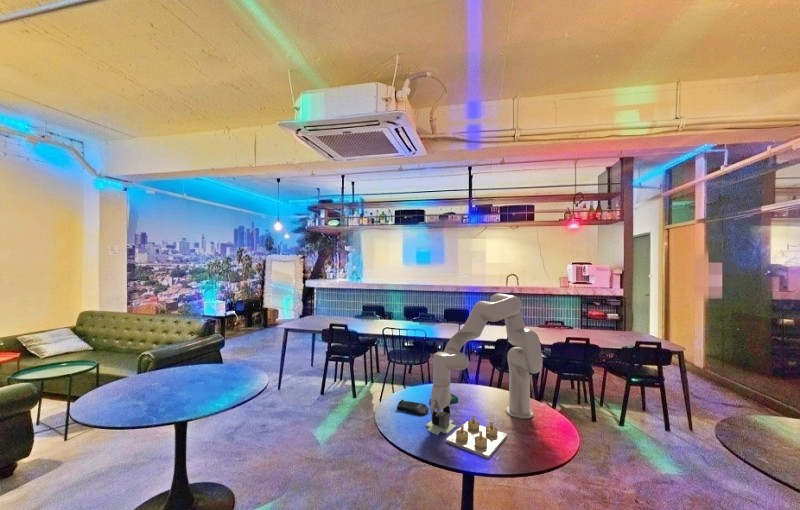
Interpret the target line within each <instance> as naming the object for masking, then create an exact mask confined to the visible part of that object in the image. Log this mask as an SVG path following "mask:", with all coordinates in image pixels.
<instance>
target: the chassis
mask: <svg viewBox="0 0 800 510" xmlns="http://www.w3.org/2000/svg"><path fill="white" fill-rule="evenodd" d="M507 438H508V434H507V433H505V432H502V431H499V430H498V427H496V426H494V420H492V419H491V420H490V421H489V425H486V426H483V425H481V424H480V421H478V420H476V414H472V418H471V419H469V420H468V421H466V422H465V423H463V424H460V427H458V428H457V429H456V430H455V431H454V432H453V433H452V434H450V435H449V436H448V437H447V438H446V439H445V443H446V442H447V444H450V445H451V444H452V445H451V446H454V447H457V448H459V447H460V449H461V450H465V451H468V452H470V453H473V454H475V455H478V456H481V457H483V458H486V459H490V458H491V457H492V456H493V454H494V453H495V452H496V451H497V450H498V449H499V447H500V446H501V445H502V444H501V443H503V442H505V440H507ZM495 450H496V451H495Z"/></svg>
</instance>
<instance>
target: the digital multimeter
mask: <svg viewBox="0 0 800 510" xmlns="http://www.w3.org/2000/svg"><path fill="white" fill-rule="evenodd" d="M450 395H451V396H452V398H451V404H453V403H452V402H454V403H457V402H456V401H458V402H459V397H458V396H456V395H455V394H453V393H450ZM429 403H430V404H431V398H429Z"/></svg>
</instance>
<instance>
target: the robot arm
mask: <svg viewBox="0 0 800 510" xmlns="http://www.w3.org/2000/svg"><path fill="white" fill-rule="evenodd" d="M522 307H523V303H522V300H521V298H520V297H518V296H515V295H512V294H506V293H495V294H492V295H491V296H490V301H488V300H487V301H485V300H479V301H477V302H476V303H475V304H474V305H473V308H472V309H471V311H470V313H469V315H468V317H467V319H466V321H465V323H464V325H463V327H461V328H460V329H459V330H458V331H457V332H455V334H454V335H452V336H451V338H450V339H449V340H448V341H447V344H446V345H445V348H444V350H443V351H437V352H435V353H434V354H433V364H432V365H433V367H432V368H433V369H432V372H433V373H432V375H433V376H432V377H433V378H432V384H433V385H432V387H431V394H430V395H431V396H430V399H431V403H430V405H429V412H430V414H431V421H432V424H435V425H437V426H438V425H439V416H438V414H439V411H442V412H445V413H448V414H449V418H450V417H451V404H452V403H451V398H452V396H451V395H450V394H451V371H463V370H466V369H467V368H468V367H469V364H470V360H469V357H468V356H467V355H466V354H465V353H463V352H461V349H462V347H463V346H464V345H465V344H467V343H469V341H472V340H475V339H478V338H480V336H481V335H482V332H483V331H484V329H485V327H486V325H487V323H488V322H492V323H494V322H499V321H501V320H504V324H505V331H506V337H507V340H508V342H509V344H511V345H512V346H513V347H511V348H510V349H509V350H508V352H507V354H506V357H507V364H508V372H509V375H508V377H509V381H508V385H509V386H508V387H509V388H508V406H506V408H505V412H506V413H507V415H508V416H511V417H513V418H515V419H523V420H525V419H527V420H528V419H531V418H533V417H534V411H533V410H532V409H531V376H530V374H538V373H539V372H540V371H542V367H543V363H544V362H543V354H542V348H541V347H542V346H541V340H540V337H539V335H538V334H537V332H536V331H535V330H533V329H531V328H527V327H525V323H524V318H523V314H522V312H521V310H522ZM436 411H437V412H436Z"/></svg>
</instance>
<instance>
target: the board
mask: <svg viewBox="0 0 800 510" xmlns="http://www.w3.org/2000/svg"><path fill="white" fill-rule="evenodd" d="M435 412H437V410H435ZM438 416H439V425H438V426H437V425H435V424H432V420H430V421H429V422H427V423H425V427H426V426H427V427H426V428H428V429H427V432H428V431H429V432H428V433H431V432H432V434H434V433H435V434H434V435H436V434H437V435H436V436H438V435H440V434H441V433H442V432H443V433H442V434H445V433H446V434H445V435H448V433H449V434H450V433H452V432H453V431H454V430H455V429H456V428H457V425H456V424H454V423H453V422H454V421H455V420H452V419H450V417H449V414H448V413H445V412H443V410H440V411H439V414H438ZM454 428H455V429H454ZM453 429H454V430H453ZM440 432H441V433H440ZM439 433H440V434H439Z"/></svg>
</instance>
